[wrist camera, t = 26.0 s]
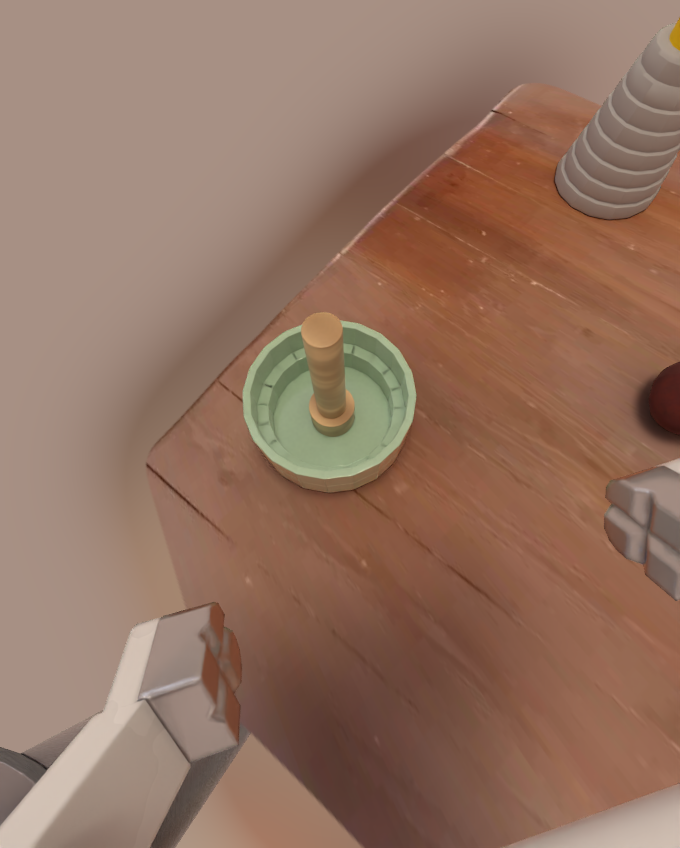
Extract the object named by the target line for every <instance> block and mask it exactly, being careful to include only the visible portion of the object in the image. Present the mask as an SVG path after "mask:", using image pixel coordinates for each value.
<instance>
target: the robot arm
mask: <svg viewBox="0 0 680 848" xmlns="http://www.w3.org/2000/svg"><path fill="white" fill-rule="evenodd" d="M605 498H606V499H607V500H608V501H609V502H610V503H611V505H610V507H609V508H608V510H607V511H606V513H605V514H604V529H605V531H606V534H607V536H608V538H609V541H610V542H611V543H612V545H613V546H614V547H615V549H616V550H617V551H618V552H619V553H621V554H622V555H623V556H624V557H625V558H626V559H629V560H632V561H634V562H637V563H640V564H643V567H644V571H645V575H646V576H647V577H648V578H650V579H651V580H652V581H653V582H654V583H655V584H657V585H658V586H659V587H660V588H661V589H663V590H664V591H665V592H666V593H667V594H668V595H670V596H671V597H672V598H673V599H674V600H675V601H677V600H680V458H679V459H676V460H673V461H670V462H667V463H663V464H660V465H657V466H656V467H652V468H649V469H645V470H642V471H639V472H636V473H633V474H630V475H626V476H623V477H620V478H617V479H614V480H611V481H610V482H609V483H608V485H607V487H606V495H605ZM224 617H225V614H224V613H223V611H222V609H221V607H220V605H219V603H216V602H212V603H208V604H205V605H201V606H198V607H194V608H191V609H187V610H183V611H180V612H177V613H173V614H169V615H165V616H163V617H161V618H158V619H154V620H150V621H146V622H143V623H139V624H136V626H135V627H134V628H133V629H132V630H131V632H130V634H129V637H128V640H127V643H126V646H125V649H124V652H123V655H122V658H121V661H120V663H119V666H118V669H117V672H116V675H115V678H114V681H113V684H112V687H111V690H110V693H109V696H108V699H107V701H106V705H105V708H104V710H103V713H100V714H98V715H95V716H93V717H92V718H91V720H90V721H89V722H88V723H87V724H86V725H85V727H84V728H83V729H82V730H81V731H80V733H79V734H78V735H77V736H76V737H75V738H74V740H73V741H72V742H71V743H70V744H69V745H68V747H67V748H66V749H65V750H64V751H63V753H62V754H61V755H60V756H59V757H58V758H57V760H56V761H55V762H54V763H53V764H52V766H51V767H50V768H49V769H48V770H47V771H46V773H45V774H44V775H43V776H42V777H41V778H40V780H39V781H38V782H37V783H36V784H35V786H34V787H33V788H32V789H31V790H30V791H29V793H28V794H27V795H26V796H25V797H24V798H23V800H22V801H21V802H20V803H19V804H18V806H17V807H16V808H15V809H14V810H13V811H12V813H11V814H10V815H9V816H8V817H7V818H6V820H5V821H4V822H3V823H2V824H1V826H0V848H150V846H151V844H152V842H153V840H154V838H155V836H156V834H157V832H158V830H159V828H160V826H161V824H162V822H163V820H164V818H165V817H166V815H167V813H168V811H169V809H170V807H171V805H172V803H173V801H174V799H175V797H176V795H177V793H178V791H179V789H180V787H181V785H182V783H183V781H184V779H185V777H186V775H187V773H188V771H189V769H190V767H191V765H190V763H191V762H194V761H197V760H200V759H202V758H205V757H208V756H211V755H213V754H216V753H219V752H222V751H224V750H227V749H230V748H233V747H235V746H238V745H239V725H240V704H239V702H238V700H237V699H236V697H235V695H234V694H235V692H236V690H237V689H238V687H239V685H240V684H241V682H242V664H241V655H240V649H239V646H238V642H237V639H236V637H235V635H234V633H233V631H232V630H230V629H228V628H226V627H224ZM501 848H680V783H678V784H675V785H673V786H670V787H667V788H664V789H662V790H659V791H656V792H653V793H651V794H648V795H645V796H642V797H640V798H637V799H634V800H631V801H628V802H626V803H623V804H620V805H617V806H615V807H612V808H609V809H606V810H604V811H601V812H598V813H595V814H593V815H590V816H587V817H584V818H581V819H579V820H576V821H573V822H570V823H568V824H565V825H562V826H559V827H557V828H554V829H551V830H548V831H546V832H543V833H540V834H537V835H534V836H532V837H529V838H526V839H523V840H521V841H518V842H515V843H512V844H510V845H507V846H504V847H501Z"/></svg>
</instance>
